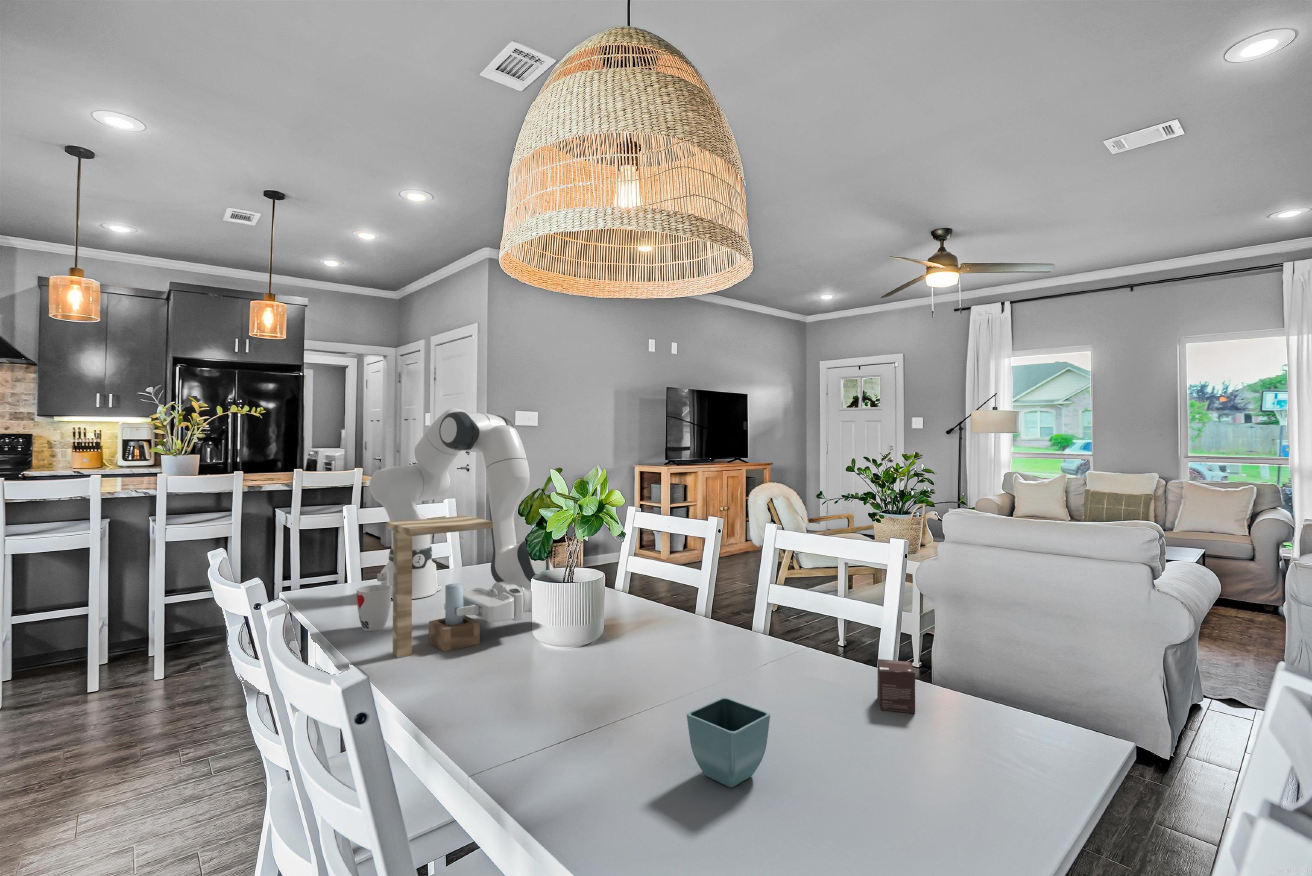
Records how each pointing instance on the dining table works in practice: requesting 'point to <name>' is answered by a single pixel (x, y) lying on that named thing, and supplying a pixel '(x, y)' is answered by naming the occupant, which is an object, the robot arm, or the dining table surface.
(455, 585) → the peg
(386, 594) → the cup
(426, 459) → the robot arm
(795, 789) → the dining table surface
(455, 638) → the socket block
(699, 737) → the flower pot
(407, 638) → the wooden l-shaped post
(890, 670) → the box
